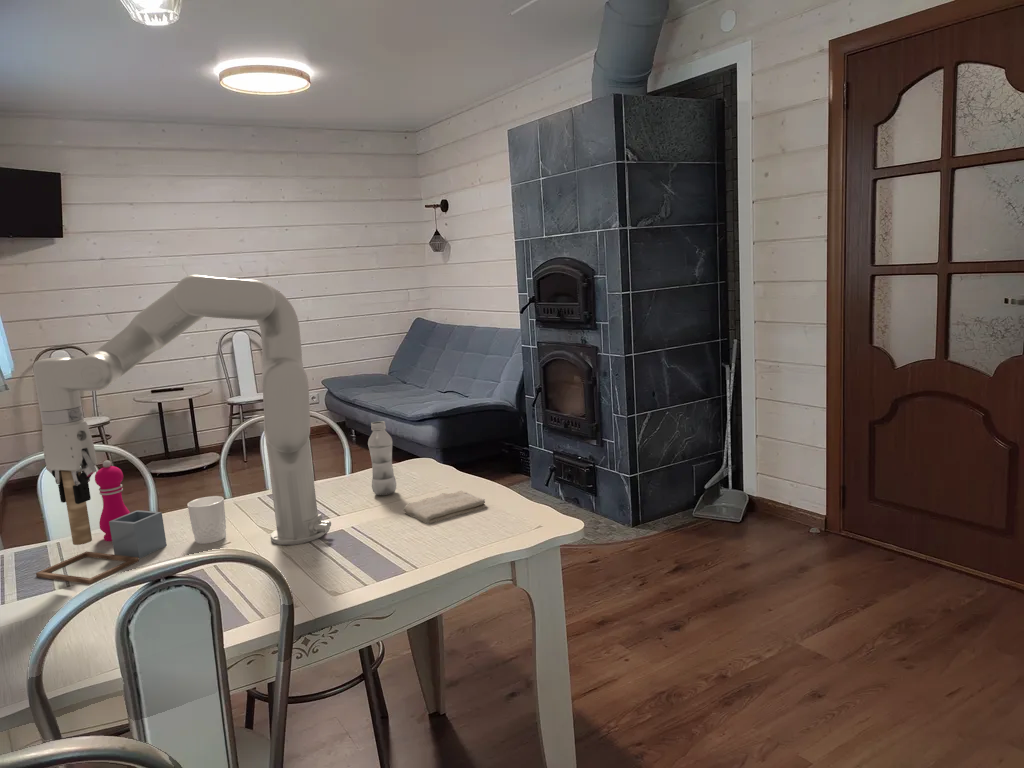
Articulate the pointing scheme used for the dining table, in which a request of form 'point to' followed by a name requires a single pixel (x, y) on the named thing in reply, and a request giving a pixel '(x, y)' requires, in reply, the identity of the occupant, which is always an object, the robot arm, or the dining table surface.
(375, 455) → the plastic bottle
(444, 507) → the washcloth
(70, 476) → the dowel
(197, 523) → the white cup
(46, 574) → the tray
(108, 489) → the pepper mill
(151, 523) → the grey hollow box
